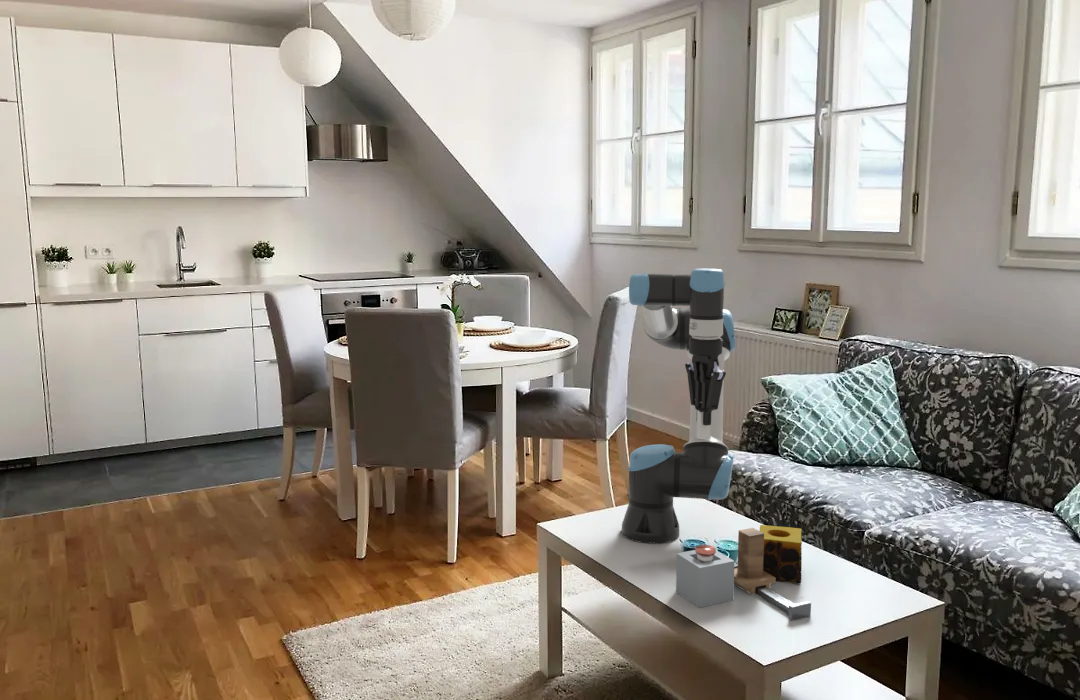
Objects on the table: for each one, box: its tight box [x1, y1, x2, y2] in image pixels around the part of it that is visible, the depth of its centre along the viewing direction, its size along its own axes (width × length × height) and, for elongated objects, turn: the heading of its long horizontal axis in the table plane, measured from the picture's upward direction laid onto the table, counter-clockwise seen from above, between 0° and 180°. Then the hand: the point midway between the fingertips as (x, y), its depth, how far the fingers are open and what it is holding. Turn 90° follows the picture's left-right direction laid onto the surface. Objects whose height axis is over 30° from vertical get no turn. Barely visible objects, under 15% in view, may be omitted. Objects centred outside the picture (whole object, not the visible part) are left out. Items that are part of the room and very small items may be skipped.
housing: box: [675, 549, 736, 608], centre depth 197 cm, size 9×9×9 cm
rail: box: [734, 563, 812, 621], centre depth 196 cm, size 23×5×3 cm, turn 24°
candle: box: [759, 524, 803, 585], centre depth 208 cm, size 10×10×10 cm
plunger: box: [694, 544, 717, 563], centre depth 196 cm, size 4×4×5 cm
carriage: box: [734, 527, 777, 596], centre depth 201 cm, size 8×8×13 cm
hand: (703, 437), depth 206 cm, fingers closed
